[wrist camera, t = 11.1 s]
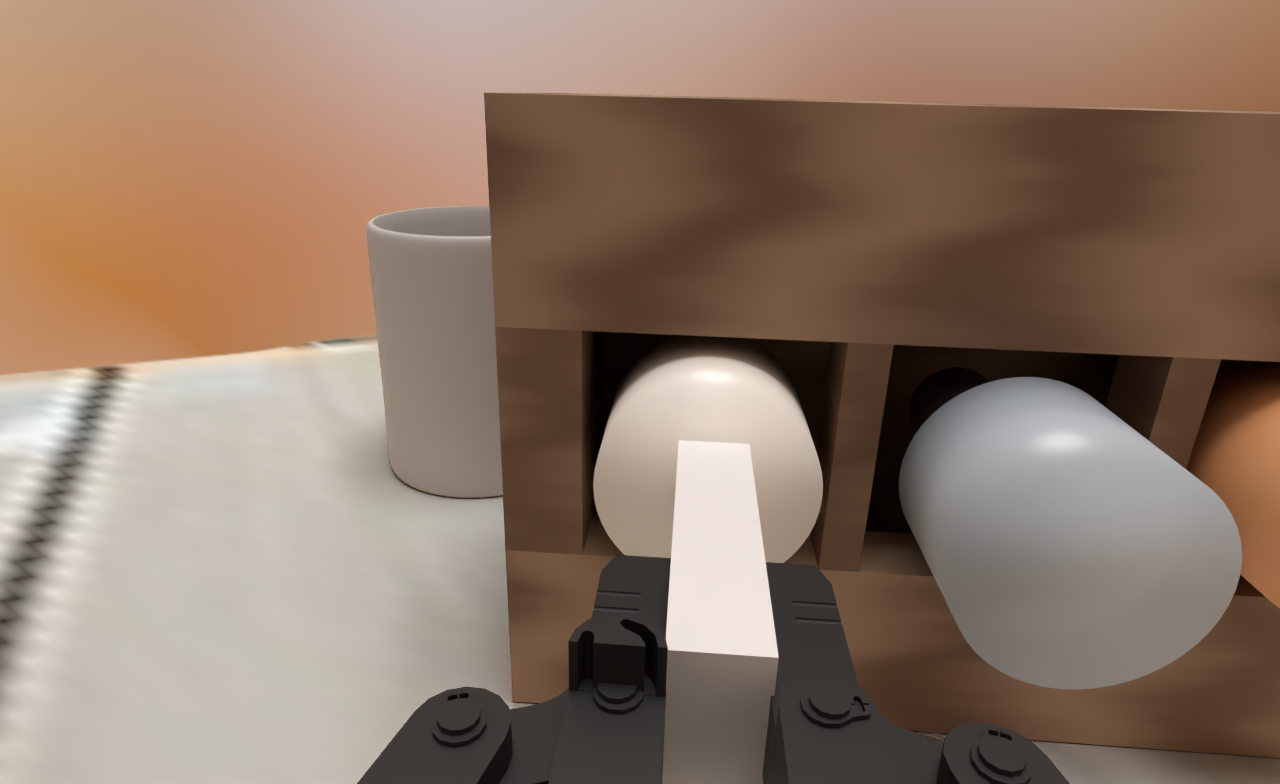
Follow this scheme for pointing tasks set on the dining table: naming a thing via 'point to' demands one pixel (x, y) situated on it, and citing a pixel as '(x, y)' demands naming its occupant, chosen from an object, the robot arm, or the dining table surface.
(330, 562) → the dining table surface
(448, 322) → the mug
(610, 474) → the white button
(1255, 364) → the orange button
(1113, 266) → the panel
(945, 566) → the grey button
